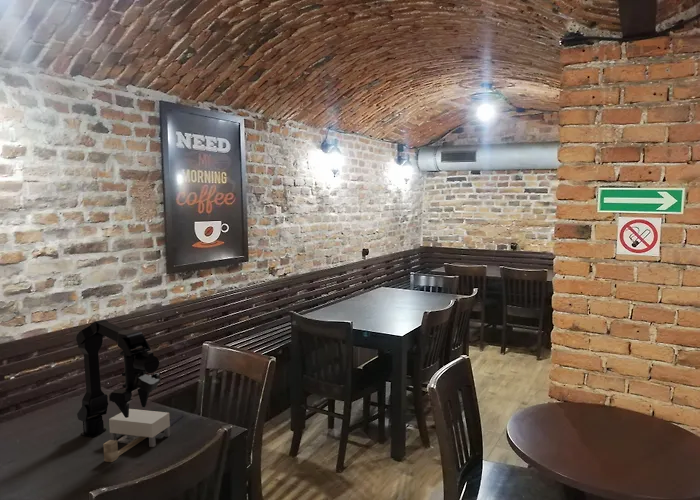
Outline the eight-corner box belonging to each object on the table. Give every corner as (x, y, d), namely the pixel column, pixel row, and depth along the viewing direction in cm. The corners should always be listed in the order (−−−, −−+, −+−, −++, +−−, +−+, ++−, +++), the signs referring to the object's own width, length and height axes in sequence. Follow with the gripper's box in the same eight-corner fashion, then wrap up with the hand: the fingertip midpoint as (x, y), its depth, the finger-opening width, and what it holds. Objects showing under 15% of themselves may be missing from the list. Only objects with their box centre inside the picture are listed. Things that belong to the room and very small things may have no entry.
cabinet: (110, 442, 183) (109, 419, 182) (129, 430, 192) (128, 408, 192) (153, 447, 178) (151, 423, 177) (170, 435, 187) (169, 412, 187)
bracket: (150, 416, 207) (149, 409, 207) (183, 418, 204) (183, 411, 204) (128, 431, 193) (128, 424, 193) (164, 433, 190) (163, 426, 190)
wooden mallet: (88, 459, 170) (87, 441, 170) (131, 432, 190) (130, 417, 190) (111, 462, 167) (110, 444, 167) (152, 435, 188) (151, 419, 187)
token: (117, 443, 182) (117, 440, 182) (128, 436, 188) (128, 433, 188) (131, 445, 181) (130, 442, 181) (142, 438, 187) (142, 434, 186)
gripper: (136, 378, 164) (138, 425, 165) (169, 361, 182) (171, 403, 183) (106, 376, 166) (109, 422, 167) (142, 360, 184) (144, 401, 186)
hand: (135, 412), depth 176 cm, fingers open, 9 cm apart
